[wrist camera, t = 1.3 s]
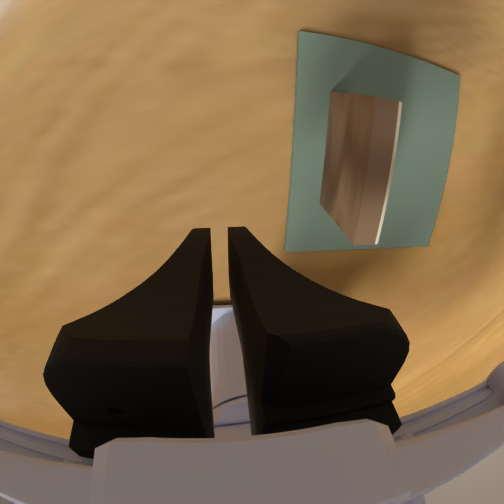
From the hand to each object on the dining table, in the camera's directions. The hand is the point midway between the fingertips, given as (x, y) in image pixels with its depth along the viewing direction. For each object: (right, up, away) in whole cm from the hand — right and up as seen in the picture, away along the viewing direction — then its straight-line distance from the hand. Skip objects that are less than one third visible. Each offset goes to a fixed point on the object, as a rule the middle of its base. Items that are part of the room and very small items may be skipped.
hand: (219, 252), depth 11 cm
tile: (+7, +7, +8) cm, 13 cm away
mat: (+11, +7, +9) cm, 16 cm away
